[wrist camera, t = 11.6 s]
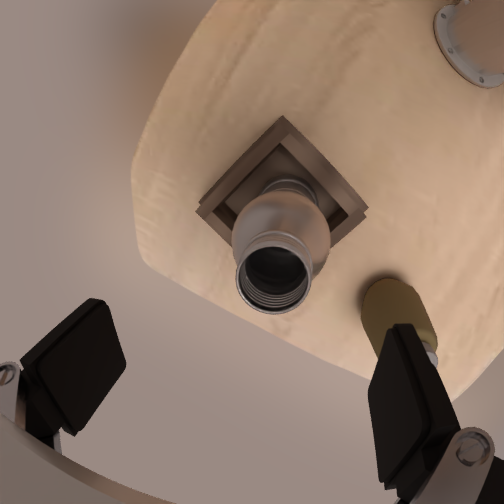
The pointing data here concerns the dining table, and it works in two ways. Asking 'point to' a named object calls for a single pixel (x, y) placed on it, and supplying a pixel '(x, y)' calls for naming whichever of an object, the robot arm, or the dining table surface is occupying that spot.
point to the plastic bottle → (280, 245)
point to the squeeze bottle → (396, 314)
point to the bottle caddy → (275, 164)
